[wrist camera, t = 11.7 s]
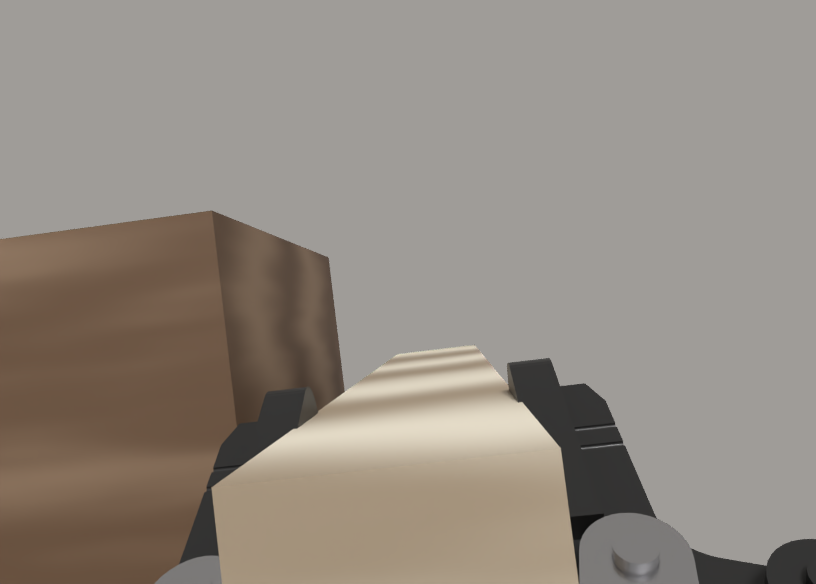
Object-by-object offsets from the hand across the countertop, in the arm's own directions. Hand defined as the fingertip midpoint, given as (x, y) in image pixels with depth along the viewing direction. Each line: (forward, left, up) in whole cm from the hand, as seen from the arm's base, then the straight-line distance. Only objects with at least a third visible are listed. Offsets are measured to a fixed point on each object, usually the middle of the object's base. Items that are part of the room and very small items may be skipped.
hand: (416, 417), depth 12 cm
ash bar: (+3, +6, -3) cm, 7 cm away
